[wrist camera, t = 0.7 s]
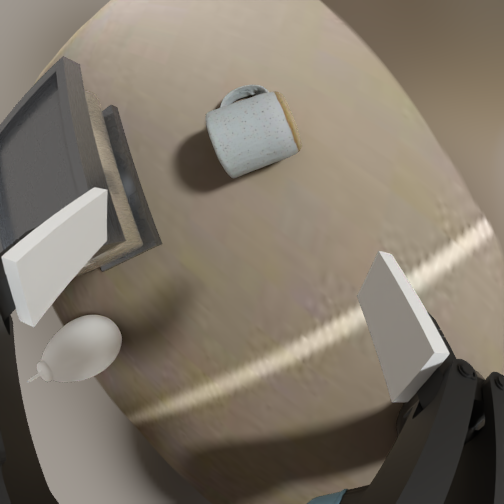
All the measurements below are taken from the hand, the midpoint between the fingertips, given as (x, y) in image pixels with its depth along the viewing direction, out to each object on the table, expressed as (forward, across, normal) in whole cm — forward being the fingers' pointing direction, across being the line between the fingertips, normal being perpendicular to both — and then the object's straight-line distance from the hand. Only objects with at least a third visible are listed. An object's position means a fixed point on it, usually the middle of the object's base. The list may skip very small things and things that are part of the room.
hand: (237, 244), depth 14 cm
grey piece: (+24, +19, +8) cm, 32 cm away
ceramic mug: (+24, +1, -2) cm, 24 cm away
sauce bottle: (+17, +15, +28) cm, 36 cm away
